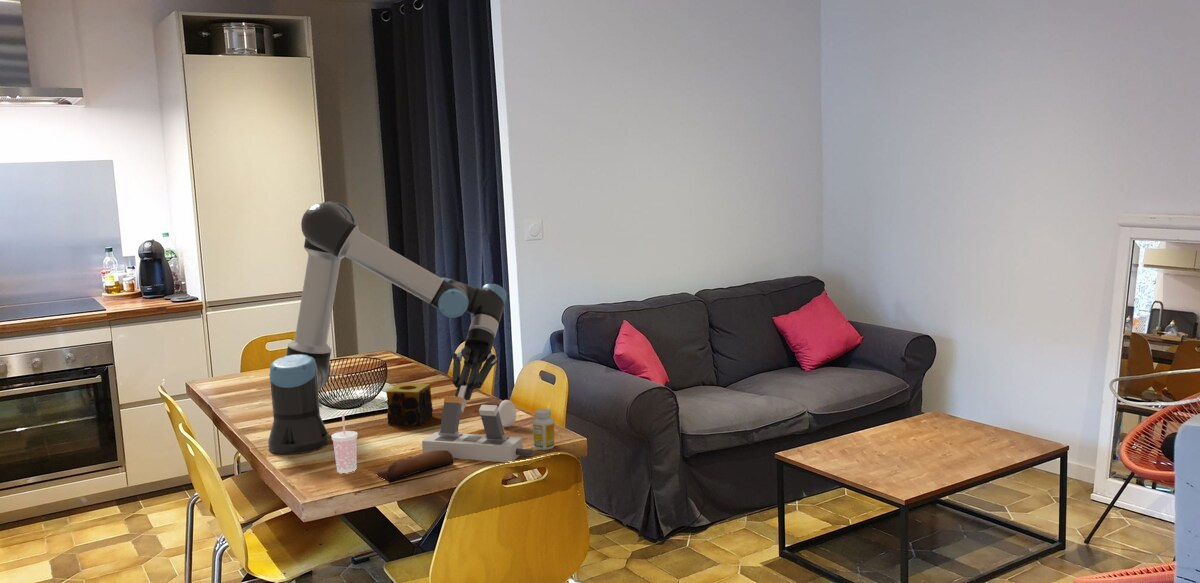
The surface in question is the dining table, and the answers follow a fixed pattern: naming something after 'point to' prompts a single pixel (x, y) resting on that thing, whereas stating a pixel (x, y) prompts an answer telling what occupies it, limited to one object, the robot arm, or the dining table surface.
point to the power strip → (477, 447)
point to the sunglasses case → (415, 464)
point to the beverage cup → (345, 449)
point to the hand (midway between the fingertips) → (458, 409)
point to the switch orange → (450, 416)
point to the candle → (409, 404)
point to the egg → (507, 413)
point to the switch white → (492, 422)
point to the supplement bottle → (543, 430)
